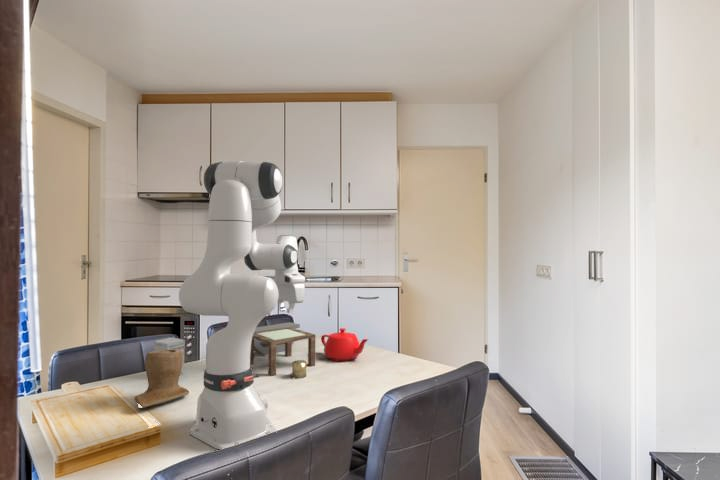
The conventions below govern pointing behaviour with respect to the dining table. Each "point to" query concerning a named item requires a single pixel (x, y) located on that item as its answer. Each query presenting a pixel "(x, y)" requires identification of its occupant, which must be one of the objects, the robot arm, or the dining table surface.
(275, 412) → the dining table surface
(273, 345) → the frame
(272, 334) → the trapdoor
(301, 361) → the cylinder
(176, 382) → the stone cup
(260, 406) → the robot arm
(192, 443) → the dining table surface
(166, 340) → the supplement box
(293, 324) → the grey anvil
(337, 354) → the teapot
